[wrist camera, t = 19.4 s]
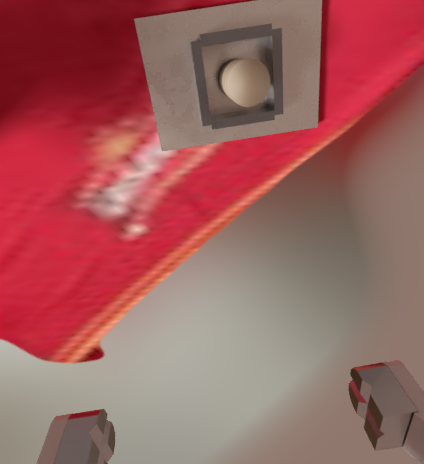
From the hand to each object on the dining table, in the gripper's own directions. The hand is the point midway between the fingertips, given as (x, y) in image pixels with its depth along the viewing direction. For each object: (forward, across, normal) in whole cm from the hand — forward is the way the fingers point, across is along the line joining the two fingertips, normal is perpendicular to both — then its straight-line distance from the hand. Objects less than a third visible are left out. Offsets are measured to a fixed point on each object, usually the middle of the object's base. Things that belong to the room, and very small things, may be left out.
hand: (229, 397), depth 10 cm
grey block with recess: (+35, -6, -7) cm, 36 cm away
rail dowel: (+34, -6, -7) cm, 35 cm away
